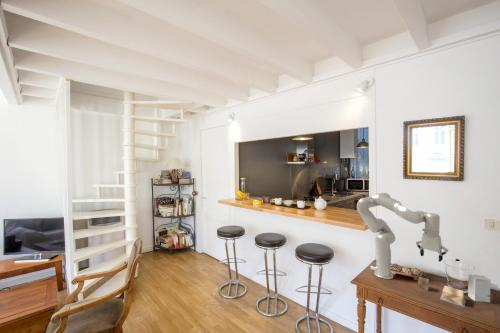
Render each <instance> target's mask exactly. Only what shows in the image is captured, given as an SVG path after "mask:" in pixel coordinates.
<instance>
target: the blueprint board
mask: <svg viewBox="0 0 500 333" xmlns="http://www.w3.org/2000/svg"><path fill="white" fill-rule="evenodd" d="M439 299H440V300H442V301H444V302H447V303H450V304H454V305H456V306H460V307H462V308H465V306H466V301H467V299H465V298H464V299H463V304H462V305H459V304H456V303H453V302H450V301H447V300H444V299H442V294H441V295H440V298H439Z"/></svg>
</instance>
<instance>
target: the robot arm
mask: <svg viewBox="0 0 500 333" xmlns="http://www.w3.org/2000/svg"><path fill="white" fill-rule="evenodd" d="M379 206H381V207H383V208H385V209H386V210H387V209H388V210H390V211H392V212H393V213H395V214H396V215H397V216H399V217H400V218H402V219H404V220H405V221H408V222H409V223H412V224H417V225H418V224H419V225H420V224H421V223H424V228H422V230H421V231H423V233H422V236H421V240H419V241H416V242H415V244H416V246H417V248H418V249H419V254H420V256H421V257H423V256H424V255H425V250H428V251H431V252H436V253H438V262H440V263H441V261H443V259H444V258H443V257H444V255H446V254H447V253H448V252H449V249H448V248H447V247H445V246H444V245H443V244H442V243H443V242H442V237H441V235H440V223H441V221H440V219H441V218H440V217H441V216H440V215H439V214H438V213H432V212H426V211H423V210H422V211H421V210H416V211H414V210H413V211H412V210H410V209H408V208H407V207H405V206H403V204H402V202H401V201H399V200H397V199H396V198H393V197H391V196H390V194H389V193H386V192H380V193H377V194H376V195H372V196H366V197H362V198H360V199H359V200H358V201H357V203H356V210H357V213H358V214H359V216H360V217H361V218H362V220H363V222H365V225H366V226H367V227H368V229H369V230H370V231H371V232H372V233H375V234H377V233H378V234H377V235H376V236H375V240H374V241H375V242H374V243H375V250H376V256H375V257H376V259H375V260H376V264H375V265H376V266H373V265H370V269H371V270H373V275H375V276H376V277H378V278H380V279H385V280H391V279H394V274H393V273H392V267H391V266H392V251H391V245H392V244H393V243H394V242H395V241H396V235H395V234H394V232H393V230H392V229H391V227H389V225H388V224H387V222H386V221H385V220H384V219H382V218H377V217H376V216H375V215H374V213H373V211H371V210H370V208H375V207H379ZM442 250H443V251H442Z"/></svg>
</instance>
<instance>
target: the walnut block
mask: <svg viewBox="0 0 500 333" xmlns="http://www.w3.org/2000/svg"><path fill="white" fill-rule="evenodd" d="M417 284H418V285H417V288H418V289H421V290H424V291H427V292H428V291H429V289H430V279H429V278H426V277H423V276H419V278H418V279H417Z"/></svg>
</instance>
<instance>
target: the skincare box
mask: <svg viewBox="0 0 500 333" xmlns="http://www.w3.org/2000/svg"><path fill="white" fill-rule="evenodd" d="M467 276H468V277H467V278H468V284H467V285H468V287H467V288H468V290H467V293H468V294H467V297H469V298H470V299H471V300H473V301H474V302H481V303H483V302H484V303H491V281H492V280H491V279H490V278H489V277H486V276H485V275H481V274H479V275H478V274H471V273H468V275H467Z"/></svg>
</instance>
